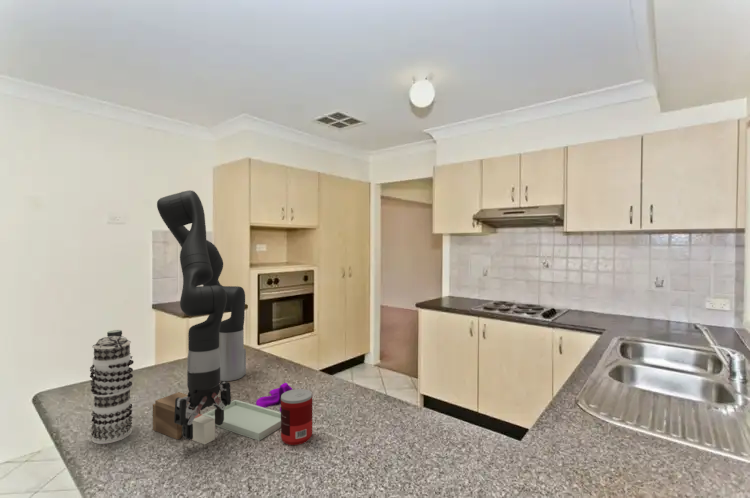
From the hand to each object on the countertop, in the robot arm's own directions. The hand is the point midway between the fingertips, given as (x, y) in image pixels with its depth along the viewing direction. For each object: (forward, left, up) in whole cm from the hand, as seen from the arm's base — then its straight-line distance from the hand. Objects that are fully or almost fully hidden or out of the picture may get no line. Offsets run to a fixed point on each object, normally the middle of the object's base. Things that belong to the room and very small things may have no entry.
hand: (204, 431), depth 95 cm
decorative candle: (+10, -23, -2) cm, 25 cm away
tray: (-12, +1, -2) cm, 13 cm away
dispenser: (0, -11, -2) cm, 11 cm away
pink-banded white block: (0, -5, -2) cm, 6 cm away
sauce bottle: (-7, -54, -3) cm, 55 cm away
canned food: (-12, +19, -3) cm, 23 cm away
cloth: (-30, +1, -3) cm, 30 cm away
